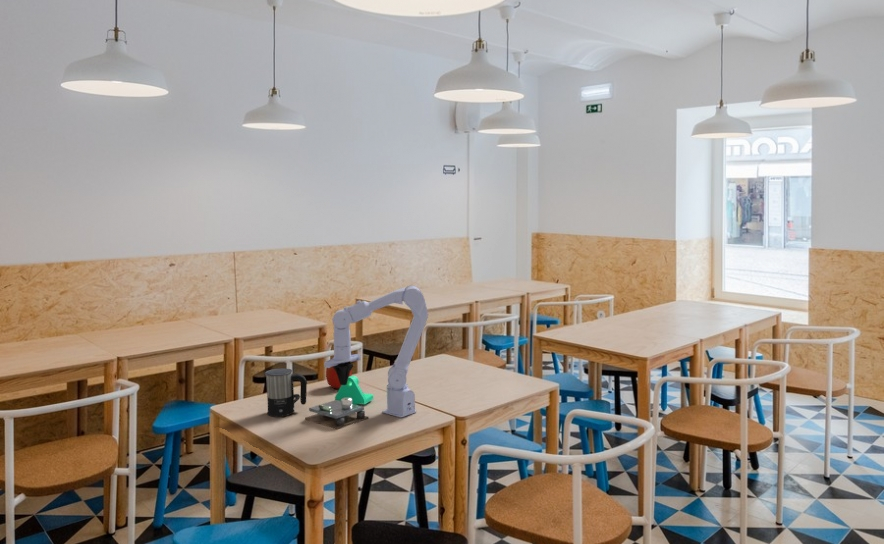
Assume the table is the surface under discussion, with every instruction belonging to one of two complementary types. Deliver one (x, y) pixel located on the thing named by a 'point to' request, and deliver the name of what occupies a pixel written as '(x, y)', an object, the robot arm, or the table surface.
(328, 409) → the level plate
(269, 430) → the table surface
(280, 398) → the milk frother
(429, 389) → the table surface
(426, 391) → the table surface
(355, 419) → the stand base
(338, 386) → the apple
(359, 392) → the camera mount
